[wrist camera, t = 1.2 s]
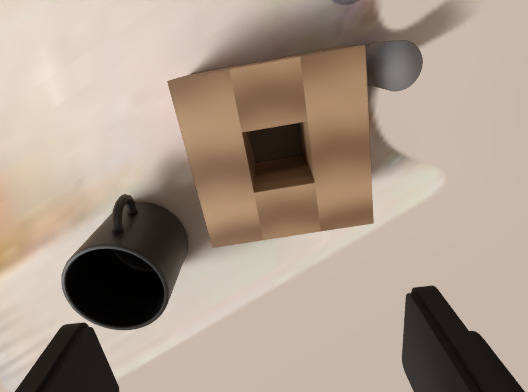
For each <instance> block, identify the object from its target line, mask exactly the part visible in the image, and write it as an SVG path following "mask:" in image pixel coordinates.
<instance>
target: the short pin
mask: <svg viewBox="0 0 528 392" xmlns="http://www.w3.org/2000/svg"><path fill="white" fill-rule="evenodd" d="M365 50H366V71H367V84H368V85H372V86H375V87H379V88H382V89H386V90H390V91H400V90H403V89H406V88H407V87H409V86H411V85H412V84H413V83H414V82H415V81H416V79H417V78H418V76H419V74H420V72H421V69H422V63H423V61H422V55H421V52H420V50H419V49H418V47H417V46H416V45H415V44H413V43H412V42H409V41H405V40H400V41H389V42H379V43H372V44H369V45H367V46H365Z"/></svg>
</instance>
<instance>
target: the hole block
mask: <svg viewBox="0 0 528 392" xmlns="http://www.w3.org/2000/svg"><path fill="white" fill-rule="evenodd" d="M167 82H168V86H169V90H170V93H171V97H172V101H173V104H174V108H175V112H176V115H177V119H178V123H179V126H180V130H181V134H182V137H183V141H184V145H185V148H186V152H187V156H188V160H189V163H190V167H191V171H192V174H193V178H194V182H195V185H196V189H197V193H198V196H199V200H200V204H201V207H202V211H203V215H204V219H205V222H206V226H207V230H208V233H209V237H210V241H211V244H212V248H215V247H221V246H228V245H234V244H241V243H247V242H254V241H261V240H267V239H274V238H280V237H287V236H293V235H300V234H306V233H313V232H320V231H326V230H333V229H339V228H346V227H352V226H359V225H365V224H372V223H373V201H372V180H371V158H370V136H369V115H368V93H367V71H366V50H365V45H355V46H344V47H336V48H331V49H325V50H320V51H315V52H309V53H304V54H298V55H293V56H288V57H282V58H277V59H271V60H266V61H261V62H255V63H250V64H244V65H239V66H234V67H228V68H223V69H217V70H212V71H207V72H201V73H196V74H190V75H187V76H183V77H180V78H176V79H173V80H170V81H167ZM294 123H299V125H300V133H301V140H302V148H303V155H301V156H295V157H289V158H283V159H277V160H271V161H265V162H259V163H255V158H254V153H253V148H252V142H251V137H250V132H249V131H254V130H260V129H265V128H271V127H277V126H283V125H289V124H294Z"/></svg>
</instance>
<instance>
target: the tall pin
mask: <svg viewBox="0 0 528 392" xmlns="http://www.w3.org/2000/svg"><path fill="white" fill-rule="evenodd" d="M333 1H334V2H336V3H337V4H340V5H350V4H353V3H355V2H356V1H358V0H333Z"/></svg>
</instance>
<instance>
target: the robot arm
mask: <svg viewBox="0 0 528 392" xmlns="http://www.w3.org/2000/svg"><path fill="white" fill-rule="evenodd" d="M402 363H403V368H404V371H405V373H406V376H407V378H408V380H409V382H410V384H411V387H412V389H413V391H414V392H525V391H524V390H523V389H522V388H521V386H520V385H519V384H518V382H517V381H516V380H515V379H514V377H513V376H512V375H511V373H510V372H509V371H508V370H507V368H506V367H505V366H504V365H503V363H502V362H501V361H500V359H499V358H498V357H497V355H496V354H495V353H494V352H493V350H492V349H491V348H490V346H489V345H488V344H487V343H486V341H485V340H484V339H483V338H482V337H481V336H480V334H478V333H477V332H475V331H468V329H467V328H466V327H465V325H464V324H463V322H462V321H461V320H460V319H459V317H458V316H457V314H456V313H455V312H454V310H453V309H452V308H451V306H450V305H449V304H448V302H447V301H446V300H445V299H444V297H443V296H442V294H441V293H440V292H439V290H438V289H437V288H436V287H435V286H425V287H416V288H413V289H412V292H411V293H408V294H407V295H406V303H405V318H404V334H403V350H402ZM15 392H119V386H118V384H117V382H116V379H115V377H114V375H113V372H112V370H111V368H110V366H109V363H108V361H107V359H106V356H105V354H104V352H103V350H102V347H101V345H100V343H99V340H98V338H97V336H96V334H95V331H94V329H93V328H92V327H89V326H88V325H87V324H86V323H75V324H66V325H63V326H62V327H61V328H60V329H59V331H58V332H57V333H56V335H55V336H54V338H53V339H52V340H51V342H50V343H49V345H48V346H47V347H46V349H45V350H44V352H43V353H42V354H41V356H40V357H39V359H38V360H37V361H36V363H35V364H34V366H33V367H32V368H31V370H30V371H29V373H28V374H27V375H26V377H25V378H24V380H23V381H22V382H21V384H20V385H19V387H18V388H17V389H16V391H15Z"/></svg>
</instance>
